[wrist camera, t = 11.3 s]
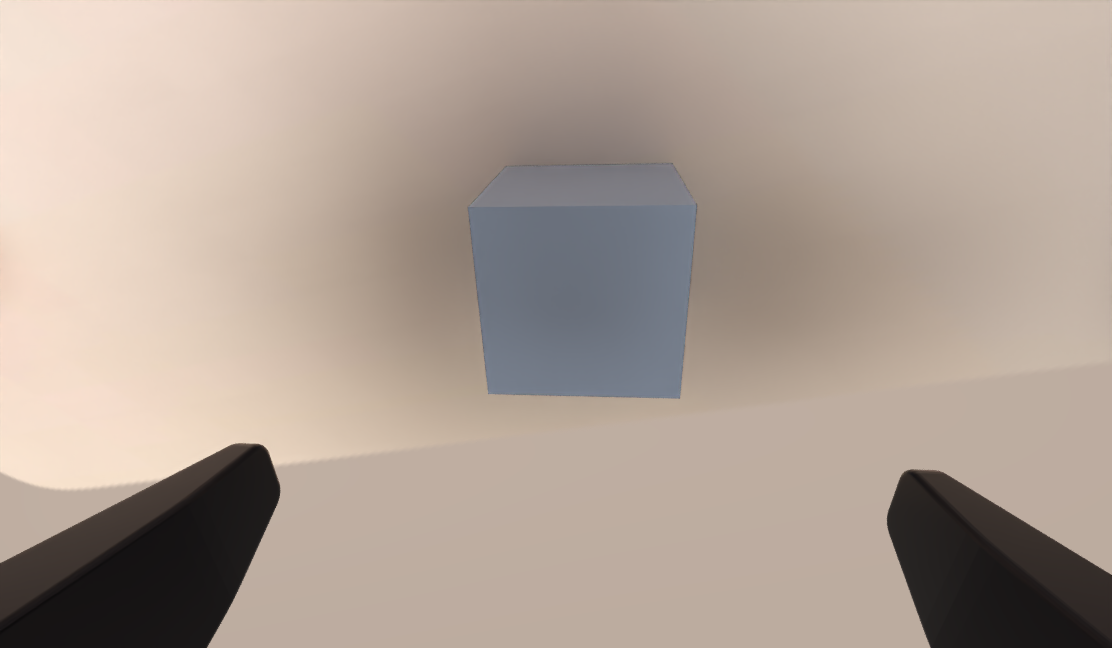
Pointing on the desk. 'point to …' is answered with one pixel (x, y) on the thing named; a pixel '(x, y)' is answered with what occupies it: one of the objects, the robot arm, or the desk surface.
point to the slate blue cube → (584, 279)
